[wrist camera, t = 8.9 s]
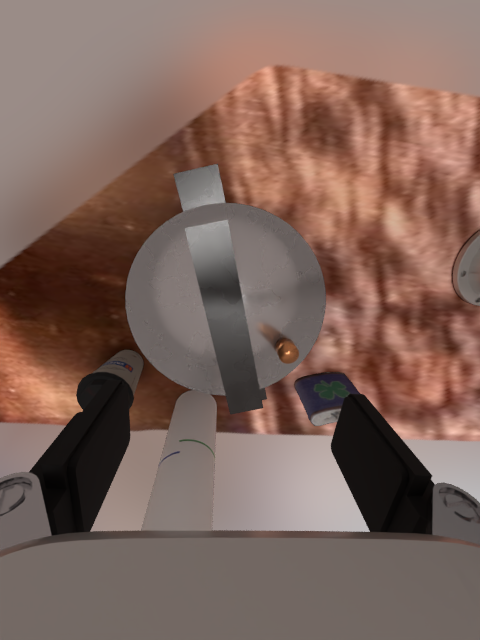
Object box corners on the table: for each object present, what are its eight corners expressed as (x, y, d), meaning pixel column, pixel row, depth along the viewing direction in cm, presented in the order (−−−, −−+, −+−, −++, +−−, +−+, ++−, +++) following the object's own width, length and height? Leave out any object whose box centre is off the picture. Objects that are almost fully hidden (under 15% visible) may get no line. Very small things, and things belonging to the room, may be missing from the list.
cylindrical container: (167, 399, 43) (101, 601, 20) (205, 383, 43) (184, 573, 19) (187, 429, 46) (148, 641, 22) (223, 415, 45) (223, 617, 22)
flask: (294, 390, 44) (315, 437, 34) (293, 375, 43) (315, 420, 33) (346, 384, 45) (382, 429, 35) (346, 369, 44) (384, 411, 34)
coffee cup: (149, 384, 42) (128, 428, 33) (105, 378, 41) (70, 422, 32) (152, 346, 40) (131, 382, 30) (106, 339, 39) (69, 374, 30)
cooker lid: (99, 227, 23) (58, 226, 17) (313, 184, 22) (343, 170, 17) (162, 403, 29) (147, 444, 23) (327, 370, 29) (352, 405, 23)
